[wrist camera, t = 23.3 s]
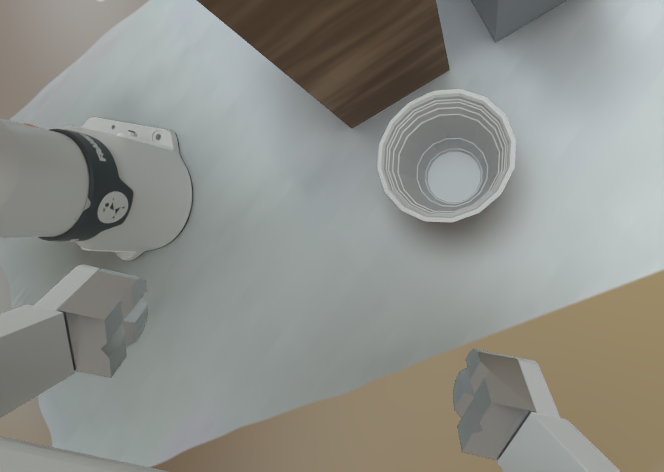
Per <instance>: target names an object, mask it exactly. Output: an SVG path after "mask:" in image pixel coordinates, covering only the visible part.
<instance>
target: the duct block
mask: <svg viewBox="0 0 664 472" xmlns="http://www.w3.org/2000/svg"><path fill="white" fill-rule="evenodd" d="M564 1H566V0H472V2H473V4H474V6H475V7H476V9H477V11H478V13H479V14H480V16H481V18H482V20H483V21H484V23H485V25H486V27H487V29H488V30H489V32H490V34H491V36H492V37H493V39H494V41H495V43H496V42H497V41H499V40H501V39H502V38H504V37H506V36H507V35H509V34H511V33H512V32H514V31H516V30H517V29H519V28H521V27H522V26H524V25H526V24H527V23H529V22H531V21H532V20H534V19H536V18H537V17H539V16H541V15H542V14H544V13H546V12H547V11H549V10H551V9H552V8H554V7H556V6H557V5H559V4H561V3H562V2H564Z"/></svg>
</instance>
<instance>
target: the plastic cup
mask: <svg viewBox="0 0 664 472" xmlns="http://www.w3.org/2000/svg"><path fill="white" fill-rule="evenodd" d="M515 153H516V138H515V136H514V133H513V131H512V128H511V126H510V124H509V121H508V119H507V116H506V115H505V114H504V113H503V112H502V111H501V110H500V109H499V108H498V107H497V106H496V105H494V104H493V103H492V102H491V101H490V100H489V99H488V98H487V97H485V96H482V95H478V94H475V93H472V92H469V91H466V90H463V89H450V90H437V91H432V92H430V93H428V94H425V95H423V96H421V97H419V98H417V99H415V100H412V101H410V102H408V103H407V104H406V105H405V106H404V107H403V108H402V109H401V110H400V111H399V112H398V113H397V114H396V115H395V116H394V117H393V118H392V119H391V120H390V122H389V124H388V126H387V128H386V130H385V132H384V134H383V137H382V139H381V141H380V143H379V150H378V164H377V170H378V173H379V176H380V179H381V182H382V185H383V188H384V191H385V193H386V194H387V195H388V196H389V197H390V198H391V200H392V201H393V202H394V203H395V204H396V205H397V206H398V207H399V208H400V210H401V211H403V212H405V213H408V214H410V215H412V216H414V217H416V218H419V219H421V220H423V221H427V222H455V221H458V220H461V219H464V218H466V217H469V216H472V215H475V214H478V213H480V212H481V211H482V210H483V209H485V208H486V207H487V206H488V205H489V204H490V203H491V202H493V201H494V200H495V199H496V198H497V197H498V196H500V195H501V194H502V192H503V190H504V188H505V186H506V184H507V182H508V180H509V178H510V176H511V174H512V172H513V170H514V168H515Z"/></svg>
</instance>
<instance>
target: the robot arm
mask: <svg viewBox="0 0 664 472" xmlns="http://www.w3.org/2000/svg"><path fill="white" fill-rule="evenodd" d="M160 136H161V138H160ZM159 138H160V139H159ZM191 203H192V185H191V180H190V176H189V173H188V170H187V168H186V166H185V164H184V162H183V160H182V159H181V156H180V154H179V148H178V141H177V137H176V134H175V133H174V132H173V131H171V130H167V129H161V128H155V127H150V126H144V125H138V124H132V123H127V122H121V121H115V120H109V119H104V118H98V117H90V118H89V119H88V120H87V121H86V122H85V123H84V124H83V126H82V127H81V128H80V127H75V126H71V125H66V126H64V127H62V128H61V129H50V130H46V129H42V128H39V127H36V126H33V125H30V124H22V123H18V122H14V121H10V120H6V119H2V118H0V238H8V237H38V238H41V239H43V240H48V241H56V242H75V243H76V244H78V245H79V246H80V247H81V249H83V250H87V251H105V252H114V253H115V254H116V255H117V256H118V257H119V258H121V259H122V260H126V261H131V260H134V259H135V258H137V257H138V256H140V255H141V254H142V253H143V252H145V251H148V250H152V249H157V248H160V247H163V246H165V245H166V244H168V243H170V242H171V241H172V240H173V239H174V238H175V237H176V236H177V235H178V234H179V233H180V231H181V230H182V229H183V227H184V225H185V223H186V221H187V219H188V216H189V213H190V209H191ZM146 292H147V288H146V280H144V279H143V278H141V277H137V276H133V275H128V274H124V273H120V272H116V271H112V270H107V269H101V268H97V267H93V266H89V265H85V264H82V265H78V266H76V267H75V268H74V269H73V270H72V271H71V272H69V273H68V274H67V275H66V276H65V277H64V278H63V279H62V280H61V281H60V282H58V283H57V284H56V285H55V286H54V287H53V288H52V289H51V290H50V291H49V292H48V293H46V294H45V295H44V296H43V297H42V298H41V299H40V300H39V301H38V302H37V303H35V304H34V305H33V306H31V305H24V306H21V307H18V308H15V309H12V310H9V311H7V312H4V313H1V314H0V418H1V417H3V416H5V415H6V414H8V413H9V412H11V411H13V410H15V409H16V408H18V407H19V406H21V405H23V404H24V403H26V402H28V401H29V400H31V399H33V398H34V397H36V396H38V395H39V394H41V393H43V392H44V391H46V390H47V389H49V388H51V387H52V386H54V385H56V384H57V383H59V382H61V381H62V380H64V379H66V378H67V377H69V376H71V375H72V374H74V371H77V372H83V373H88V374H94V375H99V376H104V377H110V378H112V376H113V375H114V373H115V372H116V370H117V369H118V367H119V366H120V365H121V363H122V362H123V360H124V359H125V357H126V347H127V346H129V345H131V344H133V343H135V342H136V341H137V340H138V338H139V337H140V335H141V334H142V332H143V329H144V327H145V324H146V321H147V315H148V305H147V304H146V303H145V301H144V300H143V299H142V297H143V296H144V294H145V293H146ZM466 363H467V368H466V369H464V370H462V371H460V372H459V374H458V376H457V378H456V380H455V385H454V390H453V403H454V410H455V411H456V412H457V414H458V415H459V416H460V417H461V420H460V422H459V424H458V426H457V427H458V433H459V438H460V444H461V450H462V452H464V453H468V454H472V455H476V456H481V457H485V458H489V459H493V460H497V463H498V465H499V466H500V468H501V469H502V471H503V472H621V471H620V470H619V469H617V467H616V466H614V465H613V464H612V463H611V462H610V461H609V460H608V459H607V458H606V457H605V456H604V455H603V454H602V453H601V452H600V451H599V450H598V449H597V448H596V447H595V446H594V445H593V444H592V443H591V442H590V441H589V440H588V439H587V438H586V437H585V436H584V435H582V434H581V433H580V432H579V431H578V430H577V429H576V428H575V427H574V426H573V425H572V424H571V423H570V422H569V421H568V420H566V419H562V418H560V416H559V413H558V410H557V408H556V406H555V403H554V401H553V399H552V396H551V394H550V391H549V389H548V386H547V384H546V382H545V379H544V377H543V375H542V372H541V370H540V367H539V365H538V364H537V363H536V362H535V361H534V360H529V359H523V358H518V357H511V356H507V355H502V354H497V353H492V352H488V351H482V350H478V349H472V350H471V351H470V352H469V354H468V356H467V358H466ZM0 472H168V471H163V470H158V469H154V468H149V467H144V466H139V465H135V464H130V463H125V462H120V461H116V460H111V459H106V458H101V457H96V456H92V455H87V454H82V453H77V452H73V451H68V450H63V449H58V448H54V447H49V446H44V445H39V444H35V443H30V442H25V441H20V440H15V439H11V438H6V437H1V436H0Z"/></svg>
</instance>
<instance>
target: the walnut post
mask: <svg viewBox="0 0 664 472" xmlns="http://www.w3.org/2000/svg"><path fill="white" fill-rule="evenodd" d="M197 1H198V2H199V3H201V4H202V5H203V6H204V7H206V8H207V9H208V10H209V11H210V12H212V13H213V14H214V15H215V16H216V17H218V18H219V19H220V20H221V21H222V22H224V23H225V24H226V25H227V26H229V27H230V28H231V29H232V30H233V31H235V32H236V33H237V34H238V35H239V36H241V37H242V38H243V39H244V40H245V41H247V42H248V43H249V44H250V45H251V46H253V47H254V48H255V49H256V50H258V51H259V52H260V53H261V54H262V55H264V56H265V57H266V58H267V59H268V60H270V61H271V62H272V63H273V64H274V65H276V66H277V67H278V68H279V69H281V70H282V71H283V72H284V73H285V74H287V75H288V76H289V77H290V78H291V79H293V80H294V81H295V82H296V83H297V84H299V85H300V86H301V87H302V88H303V89H305V90H306V91H307V92H308V93H310V94H311V95H312V96H313V97H314V98H316V99H317V100H318V101H319V102H320V103H322V104H323V105H324V106H325V107H326V108H328V109H329V110H330V111H331V112H333V113H334V114H335V115H336V116H337V117H339V118H340V119H341V120H342V121H343V122H345V123H346V124H347V125H348V126H349V127H351V128H353V127H355V126H357V125H358V124H360V123H362V122H363V121H365V120H367V119H368V118H370V117H372V116H373V115H375V114H377V113H378V112H380V111H382V110H383V109H385V108H387V107H388V106H390V105H392V104H393V103H395V102H397V101H398V100H400V99H402V98H403V97H405V96H406V95H408V94H410V93H411V92H413V91H415V90H416V89H418V88H420V87H421V86H423V85H425V84H426V83H428V82H430V81H431V80H433V79H435V78H436V77H438V76H440V75H441V74H443V73H445V72H446V71H448V70H450V69H449V64H448V59H447V54H446V49H445V44H444V39H443V34H442V29H441V24H440V19H439V14H438V9H437V4H436V0H197Z"/></svg>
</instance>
